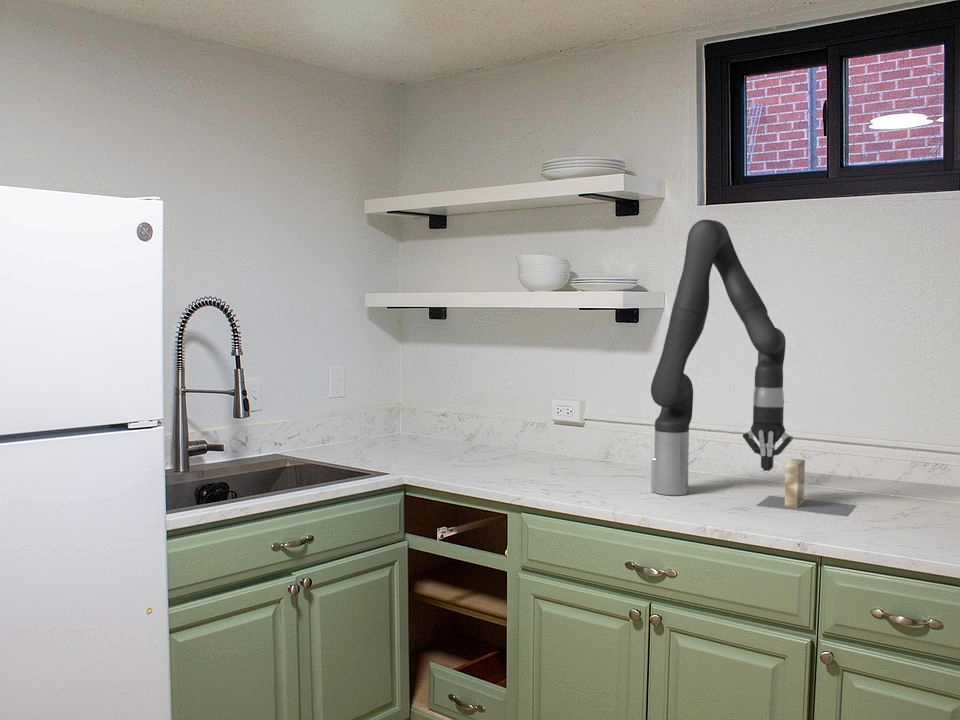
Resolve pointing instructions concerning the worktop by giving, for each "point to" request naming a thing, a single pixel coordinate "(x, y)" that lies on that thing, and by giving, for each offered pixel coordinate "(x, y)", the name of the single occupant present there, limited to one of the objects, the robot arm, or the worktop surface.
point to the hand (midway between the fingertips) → (767, 470)
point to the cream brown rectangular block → (794, 483)
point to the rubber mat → (809, 506)
